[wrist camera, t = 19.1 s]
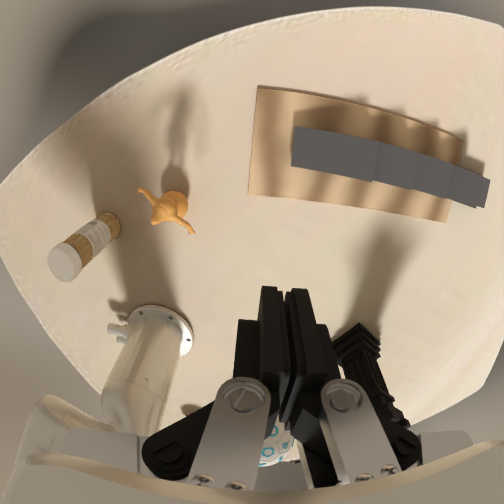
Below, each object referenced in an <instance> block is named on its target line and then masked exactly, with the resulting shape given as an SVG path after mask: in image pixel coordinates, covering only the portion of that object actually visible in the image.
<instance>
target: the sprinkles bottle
mask: <svg viewBox="0 0 504 504" xmlns="http://www.w3.org/2000/svg"><path fill="white" fill-rule="evenodd" d="M119 233H120V224H119V221H118V219H117V218H116V217H115V216H114V215H113V214H111V213H108V212H106V213H102V214H100V215H99V216H98V217H97V218H96V219H94V220H92V221H90V222H89V223H87V224H86V225H85V226H83V227H82V228H80V229H79V230H78V231H76V232H75V233H74V234H72V235H71V236H70V237H69V238H68V239H66V240H65V241H64V242H62V243H59V244H58V245H56V246H55V247H54V248H53V249H52V250H51V251H50V252H49V254H48V265H49V268H50V270H51V272H52V273H53V275H54V276H55V277H56V278H57V279H59V280H60V281H62V282H71V281H72V280H73V279H75V278H76V277H77V276H78V274H79V273H80V272H81V270H82V268H84V266H86V265H87V264H88V263H89V262H90V261H91V260H92V259H93V258H94V257H95V256H96V255H98V254H99V253H100V252H101V251H102V250H103V249H104V248H105V247H106V246H107V245H108V244H109V243H110V242H111V241H112V240H113V239H115V238H116V237H117V236H118V235H119Z"/></svg>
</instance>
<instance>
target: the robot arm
mask: <svg viewBox="0 0 504 504" xmlns="http://www.w3.org/2000/svg"><path fill="white" fill-rule="evenodd" d="M107 331H108V333H111V334H116V335H122V336H117V339H116V340H117V342H118V343H123V344H125V345H124V347H123V349H122V351H121V353H120V355H119V357H118V359H117V361H116V363H115V365H114V367H113V369H112V371H111V373H110V375H109V377H108V379H107V381H106V383H105V385H104V388H103V390H102V393H101V407H102V411H103V414H104V418H105V420H106V423H107V424H105V423H103V422H101V421H98V420H97V419H95V418H93V417H91V416H89V415H88V414H86V413H84V412H82V411H81V410H79V409H77V408H76V407H74V406H73V405H71V404H69V403H68V402H66V401H64V400H63V399H61V398H59V397H57V396H54V395H44V396H42V397H41V398H40V399H39V400H38V401H37V402H36V404H35V405H34V407H33V409H32V411H31V413H30V415H29V418H28V421H27V424H26V426H25V429H24V433H23V436H22V439H21V442H20V446H19V449H18V453H17V457H16V461H15V464H14V469H13V473H12V475H11V476H10V478H9V480H8V482H7V484H6V487H5V489H4V492H3V494H2V497H1V500H0V504H504V440H490V441H485V442H482V443H479V444H475V445H473V443H472V440H471V437H470V436H469V435H468V433H466V432H464V431H459V430H458V431H446V432H430V433H420V434H419V435H415V434H414V433H412V432H411V431H409V430H407V429H405V428H404V427H402V426H400V425H398V424H397V423H395V422H393V421H392V420H390V419H388V418H386V417H385V416H383V415H381V414H380V413H378V412H376V411H375V410H374V408H373V406H372V404H371V402H370V400H369V398H368V396H367V394H366V392H365V391H364V389H363V388H362V387H361V386H360V385H359V384H358V383H356V382H354V381H352V380H348V379H341V376H340V372H339V368H338V364H337V360H336V357H335V353H334V349H333V346H332V342H331V338H330V335H329V331H328V328H327V326H326V325H325V324H316V320H315V316H314V312H313V308H312V304H311V300H310V297H309V293H308V290H307V289H300V288H292V290H291V292H286V295H285V300H283V292H282V291H277V287H272V286H262V288H261V296H260V304H259V312H258V319H257V321H256V320H243V319H239V320H238V330H237V340H236V350H235V360H234V370H233V378H232V379H230V380H227V381H226V382H225V383H223V384H222V385H221V387H220V388H219V390H218V392H217V395H216V398H215V400H214V401H213V402H211V403H209V404H208V405H206V406H204V407H203V408H201V409H199V410H197V411H196V412H194V413H192V414H190V415H189V416H187V417H185V418H183V419H181V420H179V421H178V422H176V423H174V424H172V425H170V426H168V427H166V428H164V429H162V430H160V426H161V422H162V418H163V414H164V411H165V407H166V403H167V400H168V396H169V393H170V389H171V386H172V382H173V379H174V375H175V372H176V368H177V365H178V361H179V358H180V357H181V356H184V355H185V354H187V353H188V352H189V351H190V350H191V347H192V345H193V332H192V329H191V327H190V326H189V324H188V323H187V322H186V320H185V319H183V318H182V317H181V316H180V315H179V314H177V313H176V312H174V311H172V310H170V309H168V308H165V307H163V306H158V305H143V306H140V307H138V308H136V309H135V310H134V311H133V312H132V313H131V315H130V317H129V319H128V325H126V324H125V325H124V326H120V325H118V324H113V323H109V324H108V327H107ZM278 414H279V423H284V426H285V431H290V435H291V436H293V437H294V438H295V439H297V447H298V451H299V455H300V458H301V462H302V466H303V470H304V474H305V478H306V481H307V485H308V489H302V490H282V491H255V490H254V487H255V482H256V477H257V473H258V468H259V463H260V458H261V453H262V447H263V442H264V440H265V439H266V438H268V437H269V436H270V435H271V433H272V431H273V428H274V425H275V422H276V419H277V417H278Z"/></svg>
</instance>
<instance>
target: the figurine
mask: <svg viewBox="0 0 504 504" xmlns="http://www.w3.org/2000/svg"><path fill="white" fill-rule="evenodd" d="M138 192H139V194H140V192H142V193H144V195H145V196H146V197H147V198H148V199H149V201H150V202H151V204H152V208H153V214H152V217H151V224H152V225H156V224H159V223H160V222H162V221H170V222H171V221H175V222H177V223H179V224H180V225H182V226H185V227H186V228H187V229H188V230H189V232H190V233H188V234H194V233H195V231H193V228H192V227H191V225H190V224H189V223H188V222H187V221H185V220H184V219H182V217H184V215H185V214H186V212H187V209H188V202H187V199H186V197H185V196H184V195H183V194H182V193H180V192H178V191H169V192H166V193H165V194H163V195H162V197H161V198H159V199H158V198H156V197H154V196H153V195H152V194H151V193H150V192H149V191H148V190H147V189H145V188H140V187H138Z"/></svg>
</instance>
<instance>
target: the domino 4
mask: <svg viewBox="0 0 504 504" xmlns="http://www.w3.org/2000/svg"><path fill="white" fill-rule="evenodd" d="M482 178H483V176H481V175H479V174H476V173H474V172H471V171H469V170H466V169H463V168H461V167H458V166H455V165H453V166H452V172H451V177H450V182H449V187H448V191H447V196H446V198H447V199H450V200H453V201H456V202H459V203H462V204H465V205H468V206H470V207H473V208H476V206H477V202H478V197H479V193H480V188H481V184H482Z"/></svg>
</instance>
